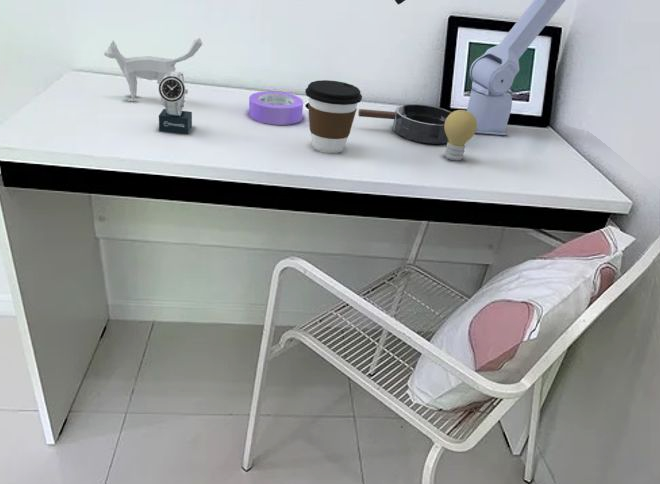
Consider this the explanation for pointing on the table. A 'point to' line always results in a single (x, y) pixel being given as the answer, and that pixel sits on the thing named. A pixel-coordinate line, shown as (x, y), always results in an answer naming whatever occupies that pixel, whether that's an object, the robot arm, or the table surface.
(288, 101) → the tape roll
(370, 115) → the pan handle
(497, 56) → the robot arm
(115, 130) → the table surface
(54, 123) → the table surface
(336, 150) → the coffee cup
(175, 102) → the watch
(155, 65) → the cat figurine
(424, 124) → the pan
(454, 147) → the light bulb
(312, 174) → the table surface
